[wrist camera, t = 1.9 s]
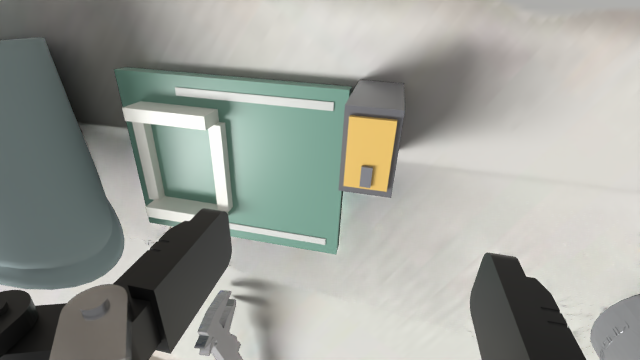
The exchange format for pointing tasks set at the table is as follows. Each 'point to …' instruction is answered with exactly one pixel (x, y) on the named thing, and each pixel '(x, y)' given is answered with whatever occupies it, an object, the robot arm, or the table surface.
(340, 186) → the switch
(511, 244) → the table surface
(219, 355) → the caliper
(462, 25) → the table surface
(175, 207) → the board
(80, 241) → the pencil case
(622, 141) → the table surface
